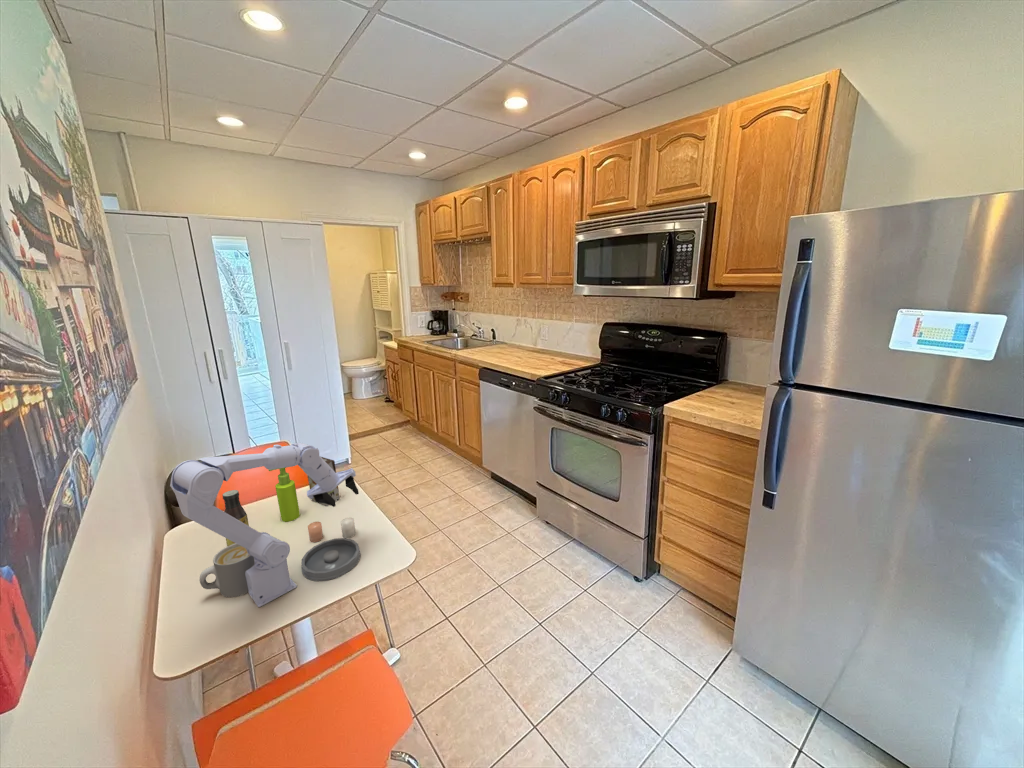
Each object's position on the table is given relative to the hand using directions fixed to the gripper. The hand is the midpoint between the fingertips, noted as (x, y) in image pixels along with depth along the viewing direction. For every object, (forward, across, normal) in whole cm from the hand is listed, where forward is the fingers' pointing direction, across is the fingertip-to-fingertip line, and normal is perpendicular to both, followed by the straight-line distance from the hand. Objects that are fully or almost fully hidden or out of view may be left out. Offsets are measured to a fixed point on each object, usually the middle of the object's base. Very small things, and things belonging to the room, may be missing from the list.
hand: (345, 498), depth 127 cm
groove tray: (+7, +10, +14) cm, 18 cm away
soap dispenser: (+12, +26, -17) cm, 33 cm away
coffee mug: (-2, +33, +13) cm, 35 cm away
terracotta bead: (+10, +16, 0) cm, 19 cm away
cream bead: (+13, +7, +2) cm, 15 cm away
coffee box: (+19, +17, -24) cm, 35 cm away
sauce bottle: (+2, +36, -3) cm, 36 cm away
